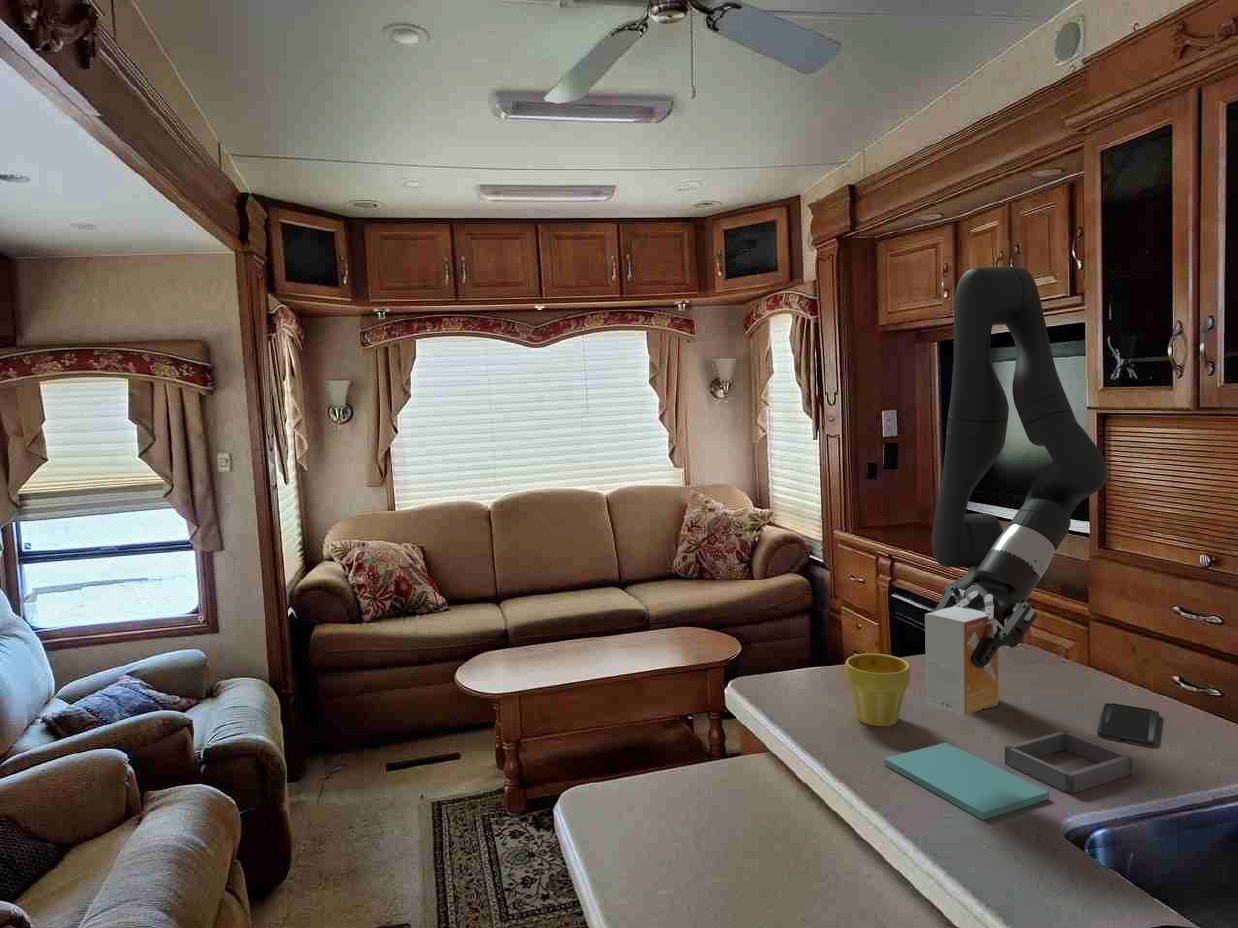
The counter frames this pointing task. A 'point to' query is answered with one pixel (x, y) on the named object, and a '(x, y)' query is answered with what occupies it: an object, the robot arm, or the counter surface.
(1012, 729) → the counter surface
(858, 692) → the plant pot
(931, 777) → the board
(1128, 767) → the tray frame
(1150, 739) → the phone
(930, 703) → the small box
